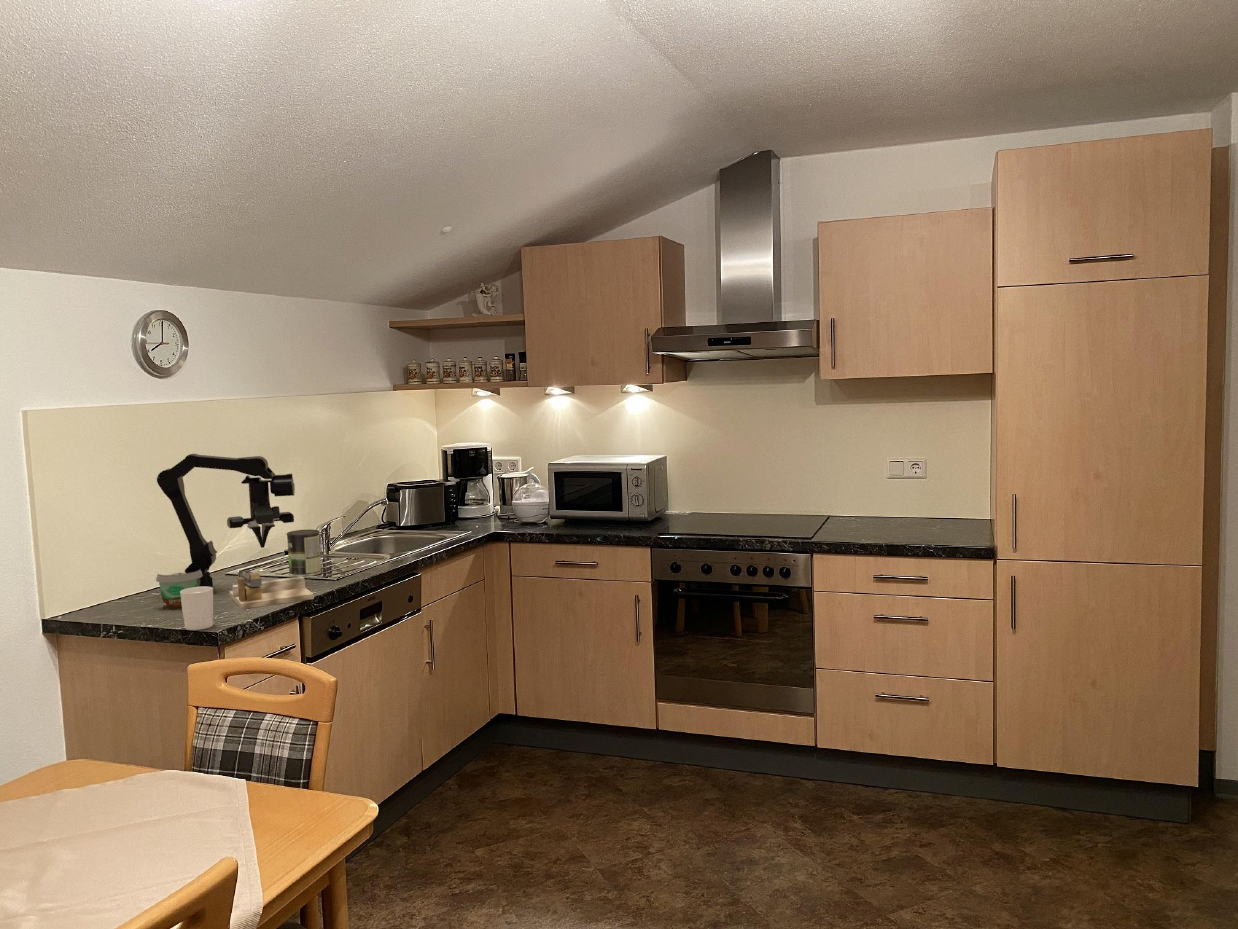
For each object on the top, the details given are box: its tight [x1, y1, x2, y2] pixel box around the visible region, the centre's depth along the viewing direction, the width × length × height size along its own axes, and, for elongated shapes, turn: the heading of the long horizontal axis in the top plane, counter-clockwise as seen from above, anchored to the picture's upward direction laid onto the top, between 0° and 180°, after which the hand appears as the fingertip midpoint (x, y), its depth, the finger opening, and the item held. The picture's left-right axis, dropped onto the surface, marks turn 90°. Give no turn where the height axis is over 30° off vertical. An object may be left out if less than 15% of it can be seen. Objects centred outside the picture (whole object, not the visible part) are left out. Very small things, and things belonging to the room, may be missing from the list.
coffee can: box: [286, 529, 322, 578], centre depth 316 cm, size 10×10×14 cm
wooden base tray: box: [228, 576, 315, 610], centre depth 282 cm, size 20×20×8 cm
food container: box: [155, 570, 203, 610], centre depth 273 cm, size 12×6×10 cm, turn 114°
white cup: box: [180, 587, 214, 631], centre depth 250 cm, size 8×8×10 cm
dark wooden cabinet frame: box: [237, 570, 263, 587], centre depth 279 cm, size 16×3×4 cm, turn 34°
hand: (262, 547), depth 294 cm, fingers closed
